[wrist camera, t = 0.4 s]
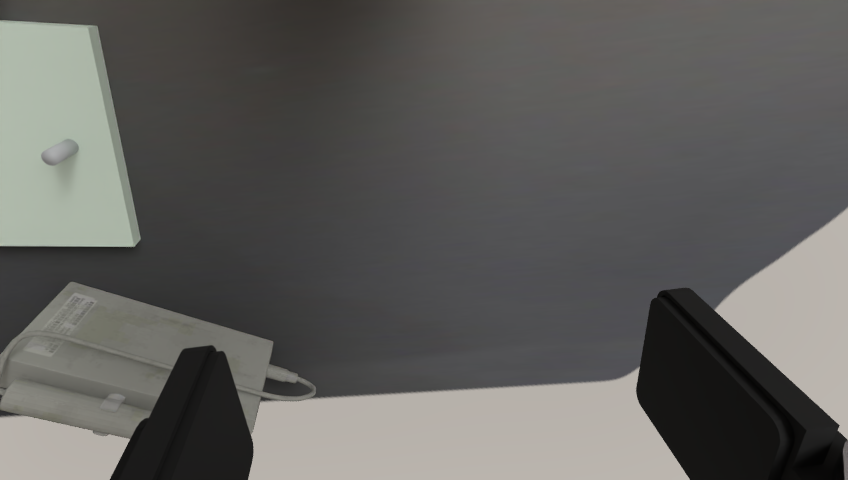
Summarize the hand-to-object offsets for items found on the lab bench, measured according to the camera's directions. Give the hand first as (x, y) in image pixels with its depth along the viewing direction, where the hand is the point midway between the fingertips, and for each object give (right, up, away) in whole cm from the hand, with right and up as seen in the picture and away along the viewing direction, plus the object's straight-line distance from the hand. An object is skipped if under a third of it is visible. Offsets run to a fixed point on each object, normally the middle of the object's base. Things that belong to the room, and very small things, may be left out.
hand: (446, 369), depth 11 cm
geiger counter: (-23, -6, +40) cm, 47 cm away
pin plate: (-36, +11, +30) cm, 48 cm away
